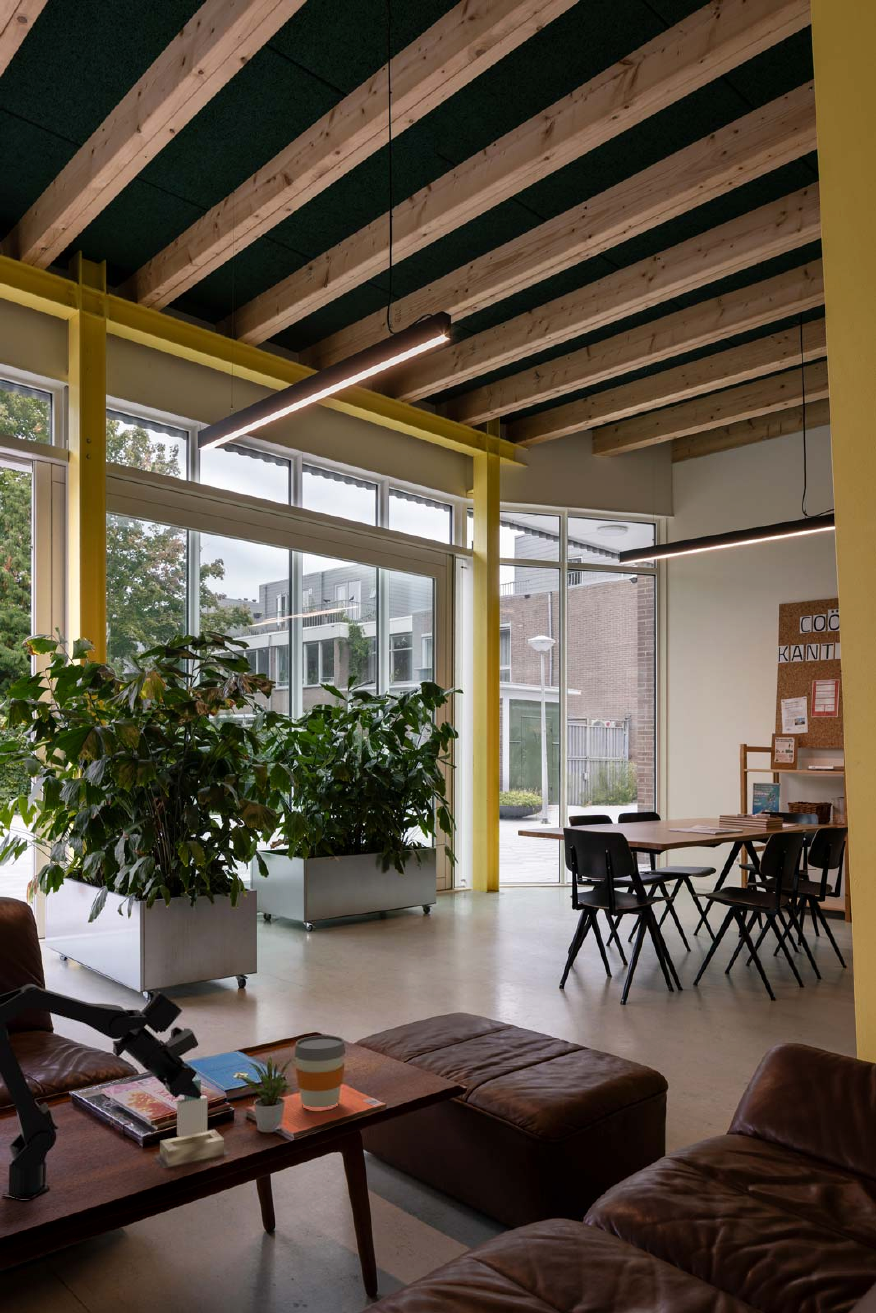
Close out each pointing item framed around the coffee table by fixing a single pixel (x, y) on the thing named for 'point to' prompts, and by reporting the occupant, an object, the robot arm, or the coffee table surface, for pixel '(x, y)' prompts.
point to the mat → (186, 1162)
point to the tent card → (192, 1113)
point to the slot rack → (191, 1147)
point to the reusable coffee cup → (320, 1069)
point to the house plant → (268, 1096)
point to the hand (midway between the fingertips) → (198, 1094)
